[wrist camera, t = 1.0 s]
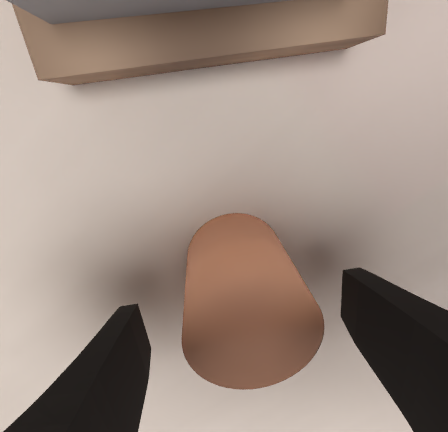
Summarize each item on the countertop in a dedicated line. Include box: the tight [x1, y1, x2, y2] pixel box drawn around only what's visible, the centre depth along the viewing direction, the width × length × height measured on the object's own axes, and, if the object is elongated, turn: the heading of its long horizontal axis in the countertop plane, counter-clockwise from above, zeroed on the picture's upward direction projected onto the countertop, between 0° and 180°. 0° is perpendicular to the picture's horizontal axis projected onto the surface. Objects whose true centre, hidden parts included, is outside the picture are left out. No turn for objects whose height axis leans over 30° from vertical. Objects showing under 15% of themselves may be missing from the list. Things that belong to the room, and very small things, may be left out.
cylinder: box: [182, 213, 324, 389], centre depth 11 cm, size 4×4×5 cm
